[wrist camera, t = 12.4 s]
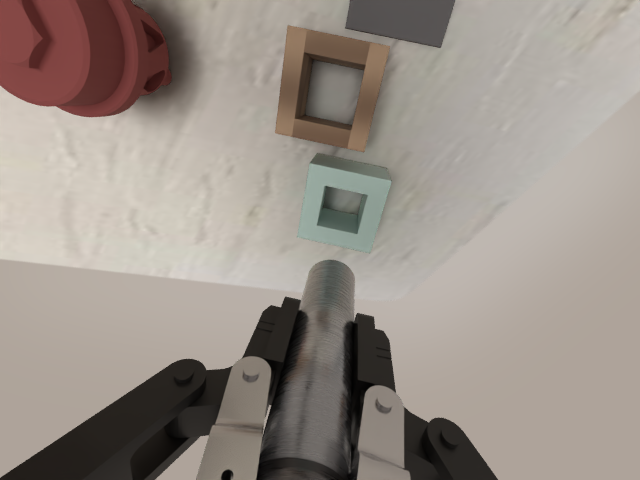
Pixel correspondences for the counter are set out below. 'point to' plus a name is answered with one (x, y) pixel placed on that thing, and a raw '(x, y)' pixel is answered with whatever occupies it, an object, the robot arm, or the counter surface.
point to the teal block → (338, 224)
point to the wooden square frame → (297, 78)
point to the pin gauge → (315, 385)
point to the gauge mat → (402, 19)
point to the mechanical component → (81, 54)
